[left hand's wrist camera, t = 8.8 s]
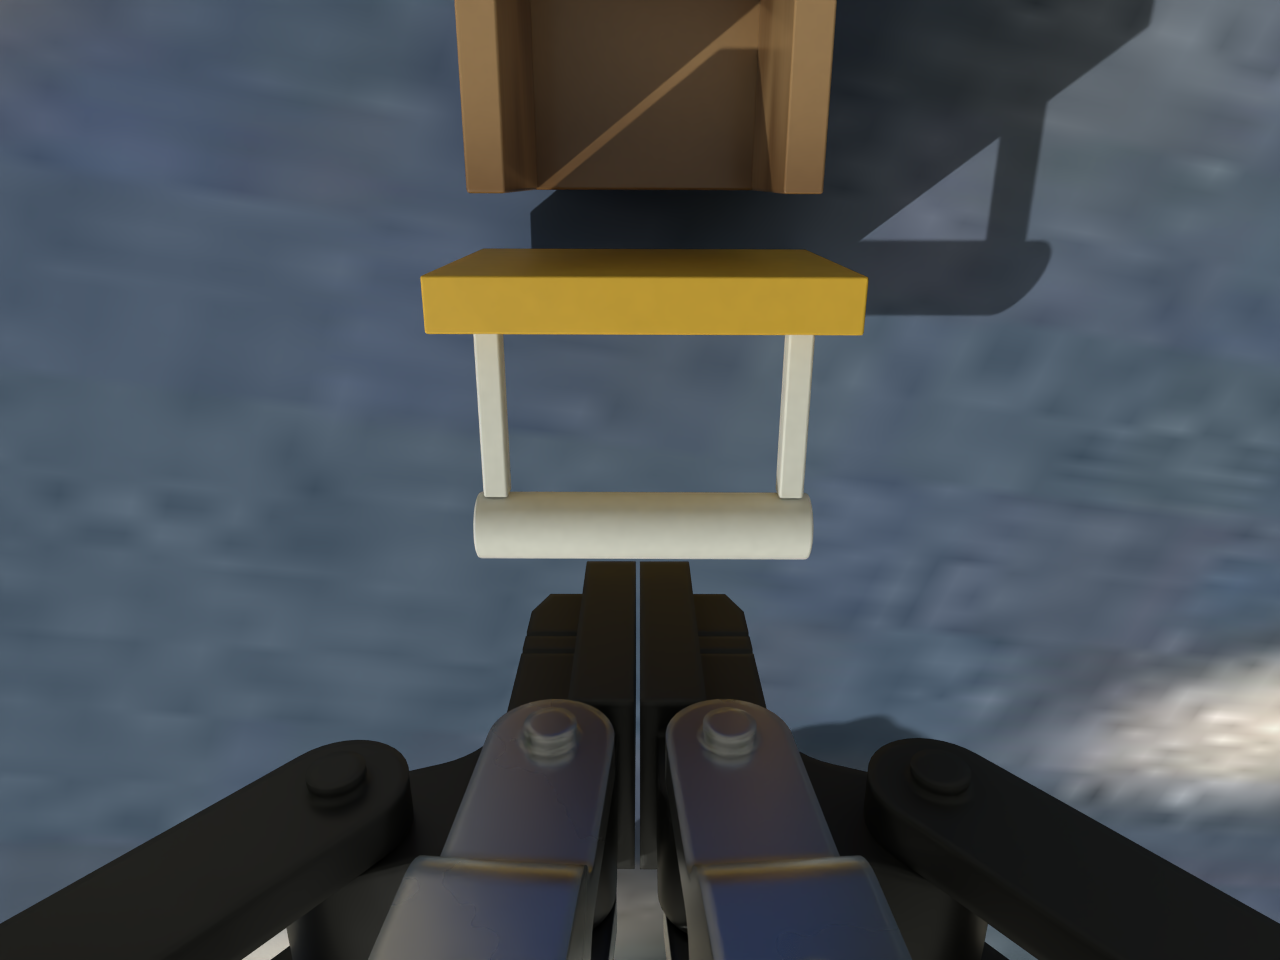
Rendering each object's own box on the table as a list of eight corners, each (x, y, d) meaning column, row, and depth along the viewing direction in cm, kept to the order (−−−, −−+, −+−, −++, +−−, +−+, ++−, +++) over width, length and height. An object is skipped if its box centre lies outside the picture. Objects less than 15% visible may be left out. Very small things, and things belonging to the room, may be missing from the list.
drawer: (790, 486, 26) (840, 590, 20) (495, 485, 26) (446, 588, 20) (851, -421, 19) (963, -743, 12) (441, -420, 19) (333, -743, 12)
